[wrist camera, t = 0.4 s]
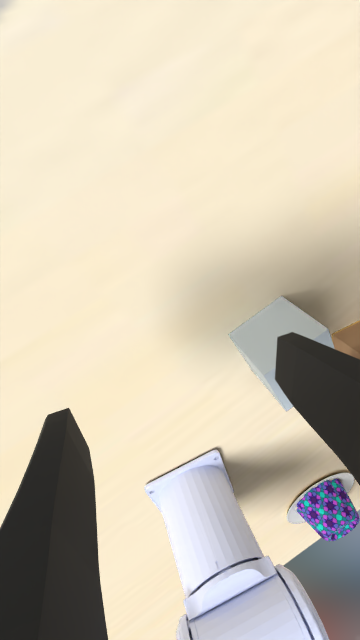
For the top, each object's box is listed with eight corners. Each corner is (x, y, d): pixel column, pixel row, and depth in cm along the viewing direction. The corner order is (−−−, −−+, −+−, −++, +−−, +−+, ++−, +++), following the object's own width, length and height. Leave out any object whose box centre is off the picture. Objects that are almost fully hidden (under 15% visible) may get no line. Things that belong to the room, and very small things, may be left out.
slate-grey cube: (298, 334, 26) (342, 371, 22) (251, 369, 26) (286, 411, 22) (280, 295, 23) (328, 328, 19) (227, 333, 23) (263, 375, 19)
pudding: (297, 480, 41) (325, 519, 37) (362, 460, 45) (393, 493, 41) (274, 527, 47) (296, 565, 43) (333, 505, 51) (358, 539, 47)
